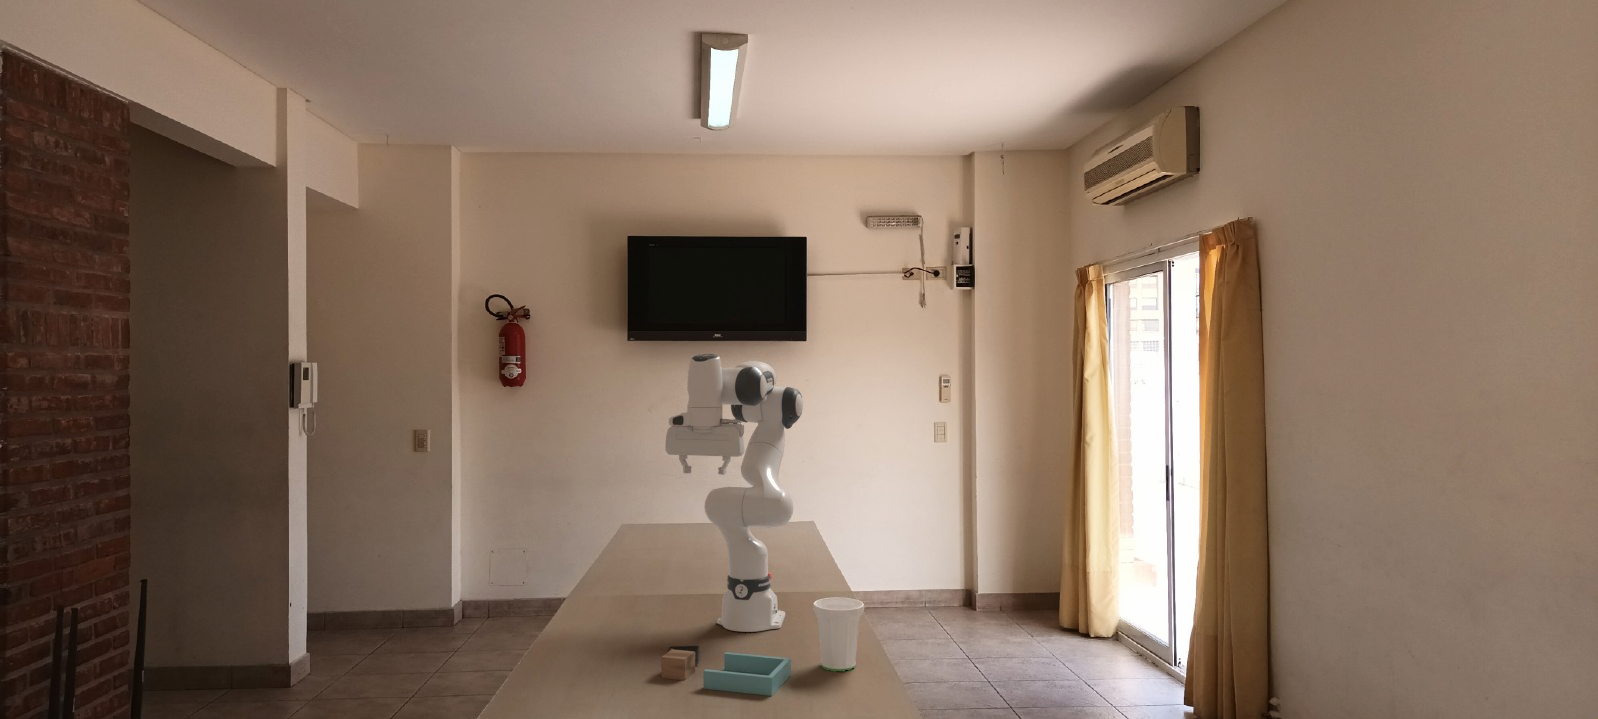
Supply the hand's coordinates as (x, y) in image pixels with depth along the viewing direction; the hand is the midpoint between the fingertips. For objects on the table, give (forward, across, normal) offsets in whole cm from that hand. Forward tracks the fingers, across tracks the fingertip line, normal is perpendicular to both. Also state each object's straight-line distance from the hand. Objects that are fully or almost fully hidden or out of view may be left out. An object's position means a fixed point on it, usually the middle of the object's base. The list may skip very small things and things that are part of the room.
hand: (704, 473), depth 231 cm
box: (+46, -16, +12) cm, 50 cm away
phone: (+47, +6, 0) cm, 47 cm away
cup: (+47, -34, -5) cm, 58 cm away
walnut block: (+47, +1, +12) cm, 48 cm away
